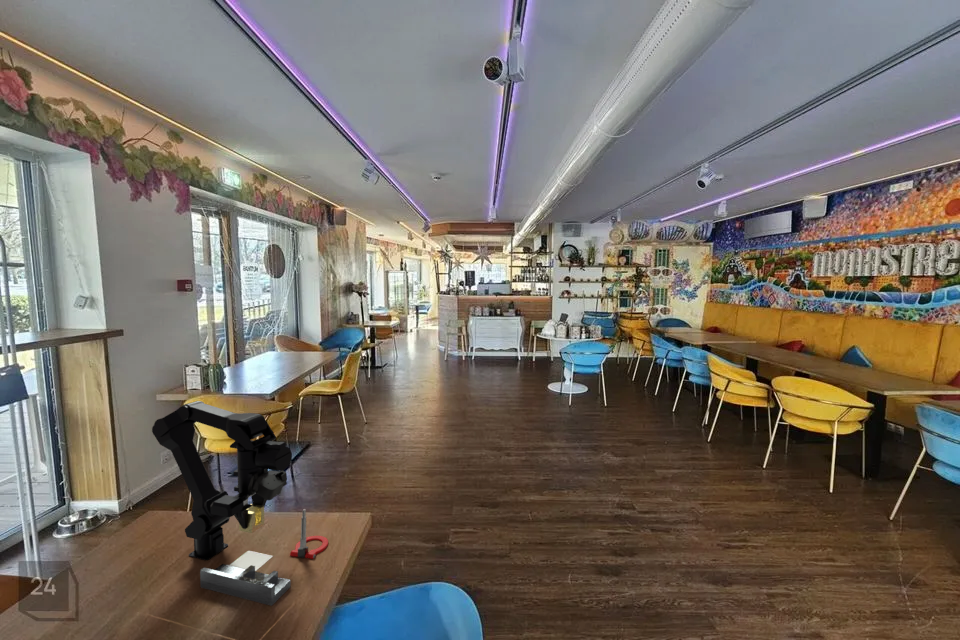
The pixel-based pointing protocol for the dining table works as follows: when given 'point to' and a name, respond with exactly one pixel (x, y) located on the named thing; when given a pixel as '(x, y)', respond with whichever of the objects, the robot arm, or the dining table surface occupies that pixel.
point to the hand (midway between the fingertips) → (251, 523)
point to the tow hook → (301, 547)
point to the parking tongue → (251, 560)
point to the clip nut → (254, 518)
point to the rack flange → (245, 583)
